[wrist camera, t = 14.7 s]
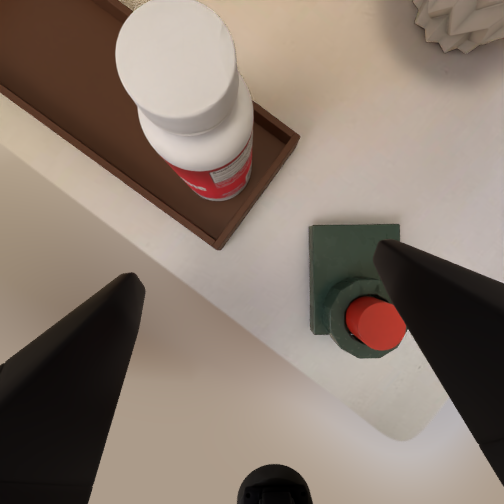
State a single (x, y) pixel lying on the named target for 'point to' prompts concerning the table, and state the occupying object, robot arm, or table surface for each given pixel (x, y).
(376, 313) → the button
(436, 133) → the table surface
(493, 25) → the vase
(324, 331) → the block
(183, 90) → the pill bottle
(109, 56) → the brown rectangular tray
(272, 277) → the table surface
